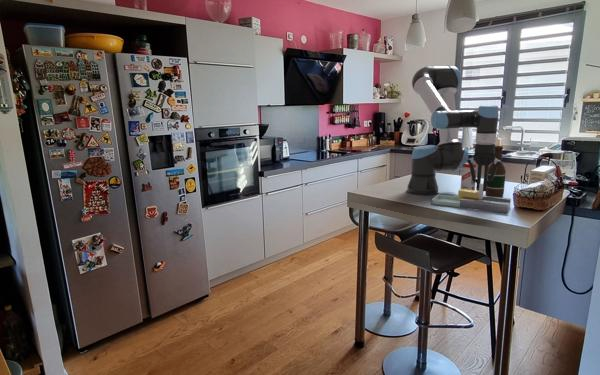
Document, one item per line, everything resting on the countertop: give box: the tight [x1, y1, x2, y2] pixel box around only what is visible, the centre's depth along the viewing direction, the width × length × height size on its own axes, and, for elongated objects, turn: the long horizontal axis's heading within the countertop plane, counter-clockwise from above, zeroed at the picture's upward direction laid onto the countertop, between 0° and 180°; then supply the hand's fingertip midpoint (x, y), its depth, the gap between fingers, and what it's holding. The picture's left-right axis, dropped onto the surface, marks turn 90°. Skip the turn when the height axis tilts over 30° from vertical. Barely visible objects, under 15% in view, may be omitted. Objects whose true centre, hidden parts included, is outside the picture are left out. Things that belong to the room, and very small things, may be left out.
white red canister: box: [460, 162, 478, 190], centre depth 172 cm, size 6×6×16 cm
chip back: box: [457, 188, 469, 200], centre depth 159 cm, size 4×4×4 cm
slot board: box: [460, 195, 512, 214], centre depth 155 cm, size 18×11×4 cm, turn 56°
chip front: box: [468, 189, 479, 200], centre depth 156 cm, size 4×4×4 cm
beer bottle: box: [484, 145, 507, 198], centre depth 169 cm, size 8×8×24 cm
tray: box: [430, 193, 461, 209], centre depth 163 cm, size 12×12×2 cm
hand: (480, 198), depth 155 cm, fingers closed
